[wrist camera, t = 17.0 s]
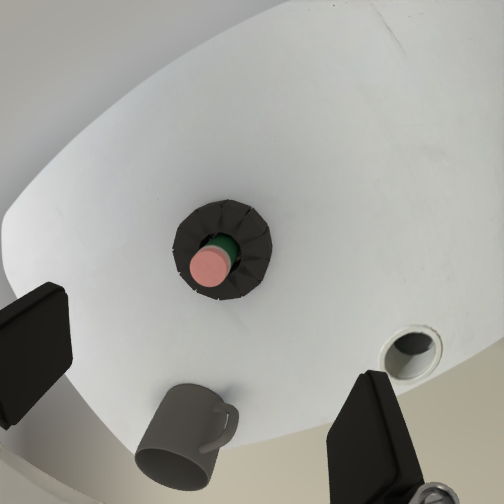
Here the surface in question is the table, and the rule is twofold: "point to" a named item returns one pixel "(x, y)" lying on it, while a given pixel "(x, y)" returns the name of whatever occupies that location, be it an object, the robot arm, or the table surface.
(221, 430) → the mug
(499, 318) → the table surface
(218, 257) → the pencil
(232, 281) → the black toy tire
